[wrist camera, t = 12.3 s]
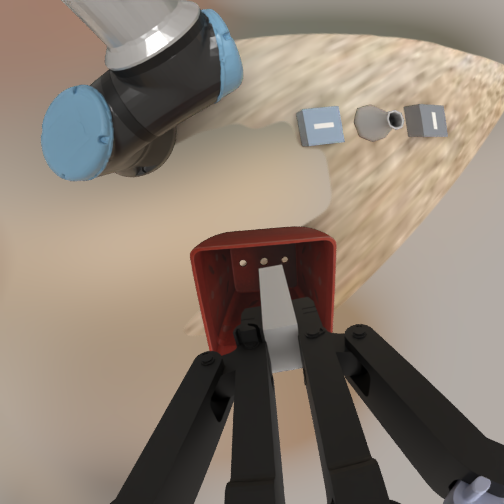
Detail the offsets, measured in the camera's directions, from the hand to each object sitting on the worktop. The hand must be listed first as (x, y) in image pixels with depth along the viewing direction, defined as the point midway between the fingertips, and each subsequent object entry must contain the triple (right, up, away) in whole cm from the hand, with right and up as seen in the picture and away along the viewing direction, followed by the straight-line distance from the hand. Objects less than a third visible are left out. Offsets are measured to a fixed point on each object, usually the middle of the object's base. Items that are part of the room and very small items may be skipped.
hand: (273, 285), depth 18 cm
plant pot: (+1, 0, +37) cm, 37 cm away
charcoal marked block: (+31, +28, +27) cm, 50 cm away
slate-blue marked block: (+10, +24, +28) cm, 38 cm away
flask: (+21, +26, +27) cm, 43 cm away
